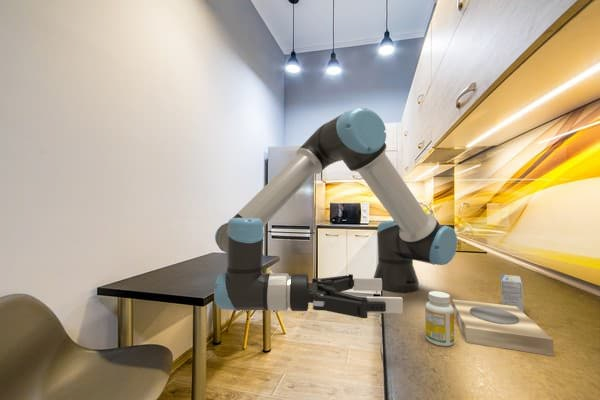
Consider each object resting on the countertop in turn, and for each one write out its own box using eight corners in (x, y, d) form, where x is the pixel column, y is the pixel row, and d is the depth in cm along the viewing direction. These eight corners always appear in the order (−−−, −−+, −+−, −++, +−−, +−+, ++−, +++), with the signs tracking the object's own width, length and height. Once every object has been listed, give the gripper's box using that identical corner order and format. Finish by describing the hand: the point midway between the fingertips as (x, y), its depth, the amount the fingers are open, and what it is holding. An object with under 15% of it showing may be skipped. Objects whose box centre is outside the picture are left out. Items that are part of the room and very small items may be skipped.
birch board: (452, 310, 72) (452, 297, 72) (516, 318, 66) (515, 304, 66) (466, 342, 55) (466, 325, 55) (553, 355, 50) (553, 337, 50)
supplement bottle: (435, 347, 53) (434, 298, 53) (420, 334, 58) (419, 290, 58) (460, 346, 53) (459, 297, 54) (443, 333, 59) (442, 289, 59)
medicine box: (524, 317, 67) (523, 282, 67) (501, 313, 70) (500, 279, 70) (522, 307, 73) (521, 276, 74) (501, 304, 76) (501, 273, 76)
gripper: (293, 291, 69) (375, 293, 68) (284, 338, 44) (414, 340, 43) (293, 262, 69) (375, 263, 69) (285, 292, 44) (414, 294, 44)
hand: (390, 293), depth 56 cm, fingers open, 13 cm apart
